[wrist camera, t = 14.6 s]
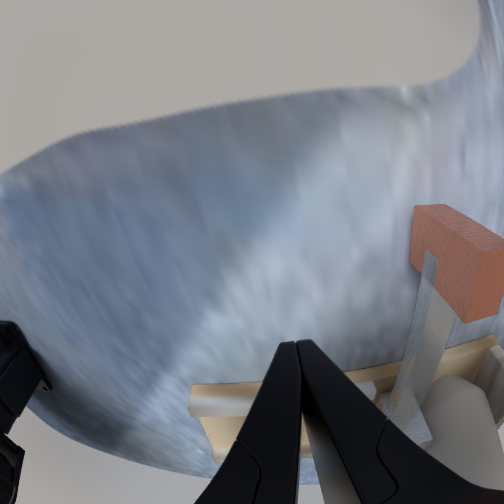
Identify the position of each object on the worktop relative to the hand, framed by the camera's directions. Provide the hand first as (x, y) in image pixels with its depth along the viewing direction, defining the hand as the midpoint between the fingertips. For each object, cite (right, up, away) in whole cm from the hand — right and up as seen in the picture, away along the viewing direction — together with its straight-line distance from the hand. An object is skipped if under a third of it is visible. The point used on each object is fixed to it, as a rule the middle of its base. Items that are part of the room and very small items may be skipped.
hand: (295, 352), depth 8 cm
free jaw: (+7, -3, +6) cm, 9 cm away
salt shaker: (+11, -7, +8) cm, 15 cm away
